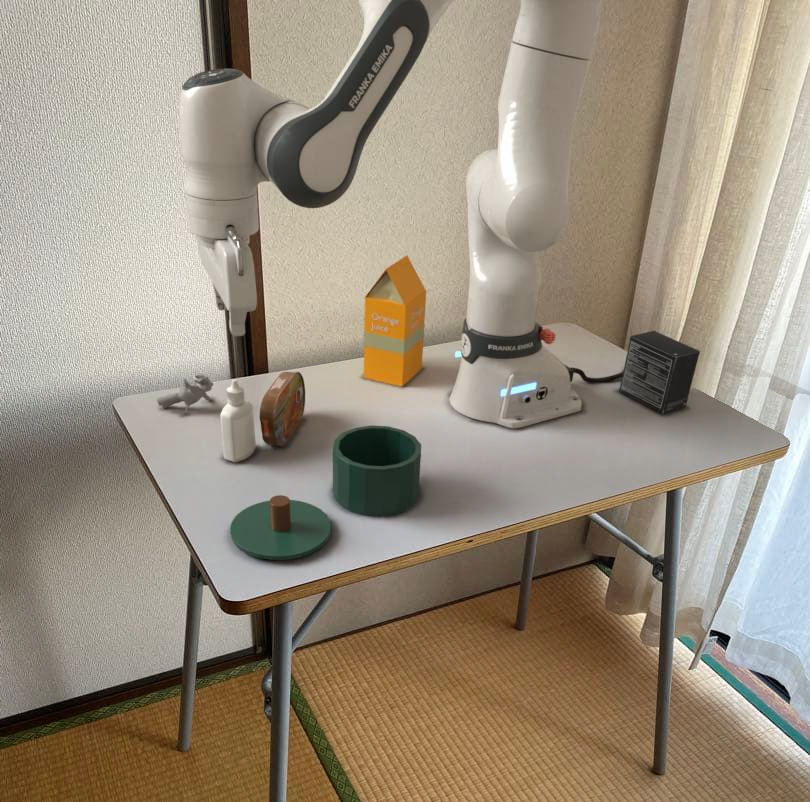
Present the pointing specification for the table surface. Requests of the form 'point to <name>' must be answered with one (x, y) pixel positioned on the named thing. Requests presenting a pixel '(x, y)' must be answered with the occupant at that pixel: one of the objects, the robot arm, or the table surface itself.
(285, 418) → the tin
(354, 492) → the pot
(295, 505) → the lid
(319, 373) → the table surface
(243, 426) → the eye dropper bottle
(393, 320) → the orange juice
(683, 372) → the small box
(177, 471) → the table surface
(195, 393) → the grey creature figurine
